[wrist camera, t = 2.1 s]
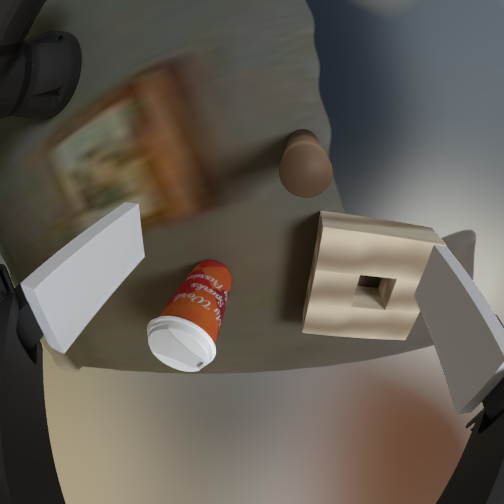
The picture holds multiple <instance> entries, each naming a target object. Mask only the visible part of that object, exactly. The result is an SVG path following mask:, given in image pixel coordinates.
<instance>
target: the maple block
mask: <svg viewBox="0 0 504 504" xmlns="http://www.w3.org/2000/svg"><path fill="white" fill-rule="evenodd" d="M434 245H438V246H443V247H446V246H447V245H446V244H445V243H444V241H443V240H442V239H441V238H440V237H439V236H438V234H437V233H436V232H435V231H434V230H433V229H432V228H429V227H424V226H418V225H412V224H407V223H401V222H395V221H388V220H382V219H376V218H370V217H363V216H356V215H349V214H342V213H335V212H327V211H320V218H319V224H318V231H317V237H316V243H315V249H314V255H313V260H312V266H311V271H310V277H309V282H308V287H307V292H306V298H305V302H304V307H303V326H302V333H309V334H319V335H330V336H342V337H355V338H370V339H390V340H406V338H407V336H408V334H409V332H410V330H411V328H412V326H413V324H414V322H415V320H416V318H417V316H418V314H419V312H420V309H419V306H418V304H417V302H416V300H415V297H414V293H415V291H416V289H417V286H418V284H419V282H420V279H421V277H422V275H423V272H424V270H425V267H426V264H427V262H428V259H429V257H430V254H431V251H432V248H433V246H434ZM360 275H365V276H374V277H382V278H381V281H380V284H379V287H378V288H374V287H364V286H357V284H358V281H359V277H360Z"/></svg>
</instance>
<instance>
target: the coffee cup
mask: <svg viewBox="0 0 504 504" xmlns="http://www.w3.org/2000/svg"><path fill="white" fill-rule="evenodd" d="M231 284H232V276H231V273H230V271H229V270H228V268H227V267H226V266H225V265H223V264H222V263H220V262H218V261H215V260H204V261H202V262H200V263H198V264H197V265H196V266H195V268H194V269H193V270H192V271H191V273H190V274H189V275H188V277H187V278H186V279H185V281H184V282H183V283H182V285H181V286H180V287H179V289H178V290H177V292H176V293H175V294H174V296H173V297H172V299H171V300H170V301H169V303H168V304H167V306H166V307H165V308H164V310H163V311H162V313H161V314H160V315H159V317H158V318H156V319H153V320H151V321H150V322H149V324H148V327H147V331H148V333H147V335H148V343H149V346H150V349H151V351H152V353H153V354H154V355H155V356H156V357H157V358H158V359H159V360H161V361H162V362H163V363H165V364H166V365H168V366H170V367H172V368H175V369H178V370H181V371H187V372H195V371H199V370H200V369H202V368H203V367H204V366H206V365H207V364H209V363H210V362H211V361H212V360H213V359H214V358H215V355H216V347H215V345H216V341H217V338H218V334H219V330H220V326H221V323H222V319H223V315H224V311H225V307H226V304H227V300H228V296H229V292H230V288H231Z"/></svg>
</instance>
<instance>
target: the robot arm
mask: <svg viewBox="0 0 504 504" xmlns="http://www.w3.org/2000/svg"><path fill="white" fill-rule="evenodd" d="M45 2H46V0H0V119H1V118H4V117H8V116H12V115H13V116H18V117H24V118H29V119H35V120H39V119H44V118H49V117H52V116H54V115H56V114H58V113H59V112H60V111H61V110H62V109H63V108H64V107H65V106H66V105H67V103H68V102H69V100H70V99H71V97H72V95H73V93H74V91H75V88H76V86H77V83H78V80H79V76H80V71H81V49H80V46H79V43H78V41H77V39H76V38H75V37H74V36H73V35H72V34H70V33H68V32H61V31H51V32H48V33H44V34H41V35H38V36H35V37H32V38H30V39H27V40H24V39H25V38H26V36H27V34H28V32H29V30H30V28H31V26H32V24H33V22H34V20H35V19H36V17H37V15H38V13H39V12H40V10H41V8H42V7H43V5H44V3H45ZM144 257H145V255H144V247H143V239H142V231H141V222H140V212H139V204H136V203H124V204H122V205H121V206H119V207H118V208H116V209H115V210H113V211H112V212H110V213H109V214H107V215H106V216H105V217H103V218H102V219H100V220H99V221H97V222H96V223H95V224H93V225H92V226H91V227H89V228H88V229H86V230H85V231H84V232H82V233H81V234H80V235H78V236H77V237H76V238H74V239H73V240H72V241H71V242H69V243H68V244H67V245H65V246H64V247H63V248H62V249H60V250H59V251H58V252H57V253H55V254H54V255H52V256H51V257H50V258H49V259H47V260H46V262H44V263H43V264H41V265H40V266H39V267H38V268H37V269H36V270H34V271H33V272H32V273H31V274H30V275H29V276H28V277H26V278H25V279H24V280H23V281H22V282H21V283H20V284H19V285H18V286H16V287H15V288H14V286H13V284H12V281H11V279H10V276H9V273H8V271H7V268H6V266H5V265H3V264H0V504H65V500H64V497H63V494H62V491H61V487H60V484H59V481H58V476H57V472H56V468H55V464H54V459H53V455H52V450H51V444H50V439H49V432H48V425H47V418H46V409H45V400H44V386H43V357H42V356H43V355H42V354H43V353H42V352H43V349H42V344H41V342H40V339H41V338H42V336H43V335H44V336H45V338H46V340H47V342H48V344H49V346H50V347H51V348H53V349H55V350H57V351H59V352H61V353H63V354H65V352H66V351H67V350H68V348H69V347H70V346H71V344H72V343H73V342H74V341H75V339H76V338H77V337H78V335H79V334H80V333H81V331H82V330H83V329H84V328H85V326H86V325H87V324H88V323H89V321H90V320H91V319H92V318H93V316H94V315H95V314H96V313H97V311H98V310H99V309H100V308H101V307H102V305H103V304H104V303H105V302H106V301H107V299H108V298H109V297H110V296H111V295H112V293H113V292H114V291H115V290H116V289H117V288H118V286H119V285H120V284H121V283H122V282H123V281H124V280H125V278H126V277H127V276H128V275H129V274H130V273H131V272H132V270H133V269H134V268H135V267H136V266H137V265H138V264H139V263H140V262H141V260H142V259H143V258H144ZM414 297H415V300H416V302H417V304H418V306H419V309H420V311H421V313H422V316H423V318H424V321H425V323H426V325H427V328H428V330H429V333H430V336H431V338H432V341H433V343H434V346H435V349H436V351H437V354H438V357H439V360H440V363H441V366H442V369H443V371H444V375H445V378H446V381H447V384H448V387H449V390H450V394H451V397H452V401H453V405H454V408H455V412H456V415H457V414H463V413H469V412H472V411H473V410H474V409H475V408H476V407H477V406H478V405H479V404H480V403H481V402H482V403H483V406H484V409H483V410H482V411H480V412H479V413H478V414H477V416H475V417H474V418H473V419H472V420H471V421H470V422H469V423H468V424H467V425H466V428H468V427H469V426H471V425H472V424H473V423H475V425H474V427H473V428H472V429H471V431H472V433H471V435H470V438H469V440H468V443H467V445H466V447H465V450H464V452H463V454H462V456H461V458H460V461H459V463H458V465H457V467H456V469H455V471H454V473H453V475H452V477H451V478H450V480H449V482H448V484H447V486H446V488H445V489H444V491H443V493H442V495H441V497H440V498H439V500H438V501H437V503H436V504H504V326H503V324H502V323H501V321H500V319H499V318H498V317H497V315H496V314H495V313H494V312H493V310H492V309H491V307H490V305H489V304H488V302H487V301H486V299H485V298H484V296H483V295H482V293H481V292H480V291H479V289H478V288H477V286H476V285H475V283H474V282H473V281H472V279H471V278H470V276H469V275H468V274H467V272H466V271H465V270H464V268H463V267H462V266H461V264H460V263H459V262H458V260H457V259H456V258H455V257H454V255H453V254H452V253H451V252H450V250H449V249H448V248H447V247H443V246H438V245H434V246H433V248H432V251H431V254H430V257H429V259H428V262H427V264H426V267H425V270H424V272H423V275H422V277H421V279H420V282H419V284H418V286H417V289H416V291H415V293H414Z"/></svg>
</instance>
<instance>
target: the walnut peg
mask: <svg viewBox="0 0 504 504" xmlns="http://www.w3.org/2000/svg"><path fill="white" fill-rule="evenodd" d="M332 174H333V171H332V165H331V163H330V161H329V159H328V157H327V155H326V153H325V151H324V150H323V148H322V146H321V144H320V143H319V141H318V139H317V138H316V136H315V135H314V134H313V133H312V132H311V131H309V130H305V129H300V130H297V131H295V132H293V133H292V134H291V136H290V137H289V140H288V143H287V145H286V148H285V151H284V154H283V157H282V160H281V163H280V166H279V176H280V180H281V182H282V184H283V186H284V187H285V188H286V189H287V190H288V191H289V192H290V193H292V194H293V195H296V196H298V197H303V198H310V197H314V196H317V195H319V194H321V193H322V192H324V191H325V190H326V189H327V187H328V186H329V184H330V182H331V180H332Z"/></svg>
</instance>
